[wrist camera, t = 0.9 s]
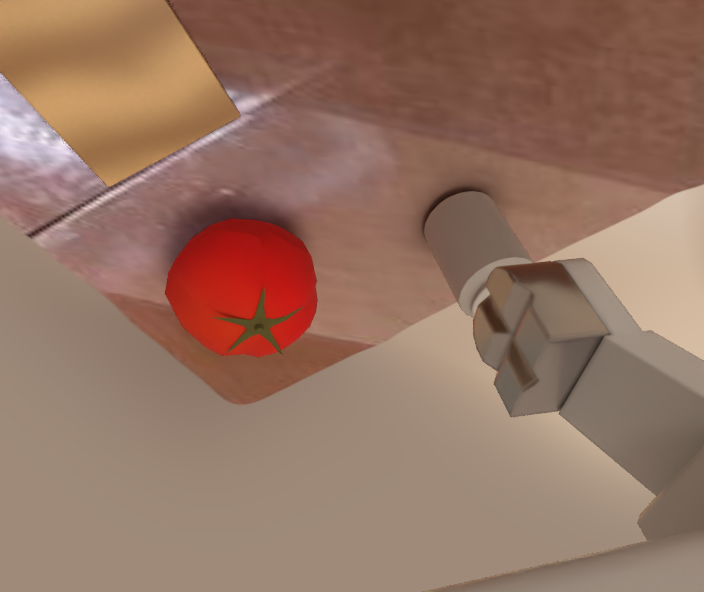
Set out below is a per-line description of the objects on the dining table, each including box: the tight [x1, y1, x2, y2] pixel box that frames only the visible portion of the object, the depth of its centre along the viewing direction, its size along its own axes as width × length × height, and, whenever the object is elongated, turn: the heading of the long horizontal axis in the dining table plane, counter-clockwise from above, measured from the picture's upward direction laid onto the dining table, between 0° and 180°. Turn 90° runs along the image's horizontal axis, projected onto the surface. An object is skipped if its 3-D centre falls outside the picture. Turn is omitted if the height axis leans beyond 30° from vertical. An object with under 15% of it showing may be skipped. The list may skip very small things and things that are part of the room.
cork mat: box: [0, 0, 241, 187], centre depth 43 cm, size 20×12×1 cm, turn 22°
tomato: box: [165, 218, 318, 357], centre depth 56 cm, size 13×12×11 cm
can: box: [424, 191, 534, 318], centre depth 60 cm, size 8×8×12 cm
